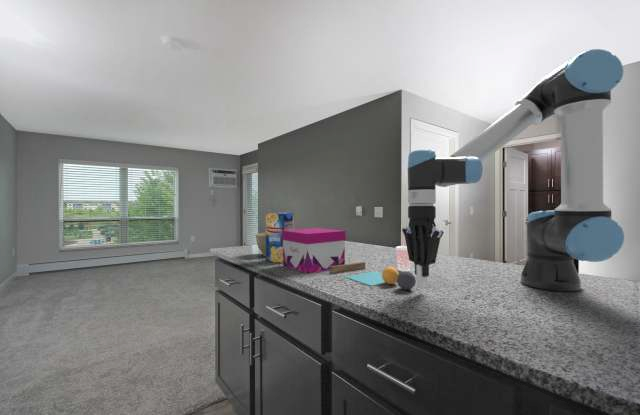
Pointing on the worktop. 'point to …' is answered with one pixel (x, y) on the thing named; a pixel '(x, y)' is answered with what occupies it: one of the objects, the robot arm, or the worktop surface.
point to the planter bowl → (261, 242)
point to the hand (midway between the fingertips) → (421, 287)
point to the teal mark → (368, 278)
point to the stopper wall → (347, 267)
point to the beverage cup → (403, 258)
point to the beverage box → (277, 234)
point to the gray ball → (406, 280)
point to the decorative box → (313, 249)
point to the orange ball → (390, 275)
